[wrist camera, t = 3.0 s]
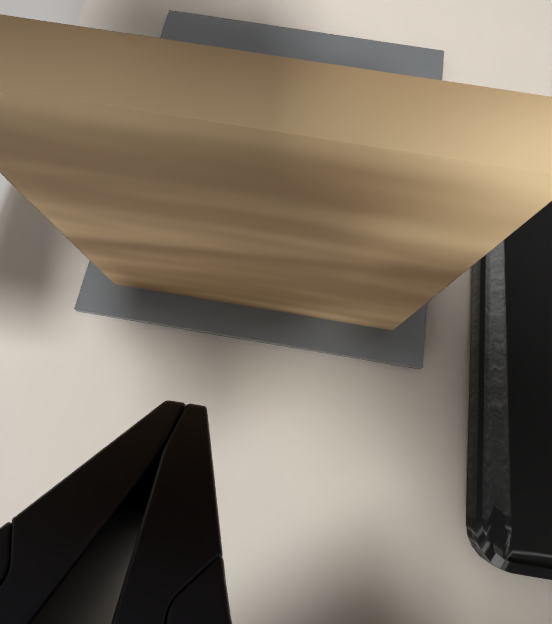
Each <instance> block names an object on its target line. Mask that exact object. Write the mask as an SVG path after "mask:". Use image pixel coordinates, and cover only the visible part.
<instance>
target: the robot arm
mask: <svg viewBox="0 0 552 624" xmlns="http://www.w3.org/2000/svg"><path fill="white" fill-rule="evenodd" d="M222 555H223V553H222V544H221V535H220V525H219V516H218V507H217V498H216V488H215V479H214V470H213V460H212V451H211V442H210V432H209V423H208V414H207V408H206V407H205V406H201V405H194V404H188V405H185V404H184V403H182V402H175V401H165V402H163V403H162V404H161V405H159V406H158V407H157V408H155V409H154V410H153V411H151V412H150V413H149V414H148V415H146V416H145V417H144V418H142V419H141V420H140V421H138V422H137V423H136V424H135V425H133V426H132V427H131V428H129V429H128V430H127V431H126V432H124V433H123V434H122V435H120V436H119V437H118V438H116V439H115V440H114V441H113V442H111V443H110V444H109V445H107V446H106V447H105V448H103V449H102V450H101V451H100V452H98V453H97V454H96V455H94V456H93V457H92V458H91V459H89V460H88V461H87V462H85V463H84V464H83V465H81V466H80V467H79V468H78V469H76V470H75V471H74V472H72V473H71V474H70V475H69V476H67V477H66V478H65V479H63V480H62V481H61V482H59V483H58V484H57V485H56V486H54V487H53V488H52V489H50V490H49V491H48V492H46V493H45V494H44V495H43V496H41V497H40V498H39V499H37V500H36V501H35V502H34V503H32V504H31V505H30V506H28V507H27V508H26V509H24V510H23V511H22V512H21V513H19V514H18V515H17V516H15V517H14V518H13V519H12V524H11V523H10V522H8V523H6V524H5V525H3V526H2V527H1V528H0V624H232V621H231V615H230V608H229V601H228V594H227V587H226V579H225V570H224V561H223V558H222Z"/></svg>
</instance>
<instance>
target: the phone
mask: <svg viewBox="0 0 552 624" xmlns="http://www.w3.org/2000/svg"><path fill="white" fill-rule="evenodd" d="M466 527H467V535H468V537H469V540H470V542H471V545H472V547H473V548H474V549H475V550H476V552H477V553H478V554H479V556H481V557H482V558H483V559H485V560H486V561H487V562H489V563H491V564H492V565H494V566H496V567H497V568H499V569H501V570H504V571H507V572H510V573H514V574H520V575H526V576H531V577H537V578H543V579H549V580H552V201H551V202H550V203H548V204H547V205H546V206H545V207H543V208H542V209H541V210H540V211H539V212H537V213H536V214H535V215H534V216H532V217H531V218H530V219H529V220H527V221H526V222H525V223H524V224H523V225H521V226H520V227H519V228H518V229H516V230H515V231H514V232H513V233H512V234H510V235H509V236H508V237H507V238H505V239H504V240H503V241H502V242H500V243H499V244H498V245H497V246H496V247H494V248H493V249H492V250H491V251H489V252H488V253H487V254H486V255H485V256H483V257H482V258H481V259H480V260H478V261H477V262H476V263H475V264H473V265H472V298H471V339H470V381H469V423H468V464H467V506H466Z"/></svg>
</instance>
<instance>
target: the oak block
mask: <svg viewBox="0 0 552 624" xmlns="http://www.w3.org/2000/svg"><path fill="white" fill-rule="evenodd" d="M0 173H1V174H2V175H3V176H4V177H5V178H6V179H7V180H8V181H9V182H10V183H11V184H12V185H13V186H14V187H15V188H16V189H17V190H18V191H19V192H21V193H22V194H23V195H24V196H25V197H26V198H27V199H28V200H29V201H30V202H31V203H32V204H33V205H34V206H35V207H36V208H37V209H38V210H39V211H40V212H41V213H42V214H43V215H44V216H45V217H46V218H47V219H48V220H49V221H50V222H51V223H52V224H53V225H54V226H55V227H56V228H57V229H59V230H60V231H61V232H62V233H63V234H64V235H65V236H66V237H67V238H68V239H69V240H70V241H71V242H72V243H73V244H74V245H75V246H76V247H77V248H78V249H79V250H80V251H81V252H82V253H83V254H84V255H85V256H86V257H87V258H88V259H89V260H90V261H91V262H92V263H93V264H94V265H96V266H97V267H98V268H99V269H100V270H101V271H102V272H103V273H104V274H105V275H106V276H107V277H108V278H109V279H110V280H111V281H112V282H113V283H114V284H116V285H122V286H128V287H134V288H140V289H146V290H152V291H158V292H164V293H170V294H176V295H182V296H188V297H194V298H200V299H206V300H212V301H218V302H224V303H230V304H236V305H242V306H248V307H254V308H260V309H266V310H272V311H278V312H284V313H290V314H296V315H303V316H309V317H315V318H321V319H327V320H333V321H339V322H345V323H351V324H357V325H363V326H369V327H375V328H381V329H387V330H394V329H395V328H396V327H397V326H399V325H400V324H401V323H402V322H404V321H405V320H406V319H407V318H408V317H410V316H411V315H412V314H413V313H415V312H416V311H417V310H418V309H420V308H421V307H422V306H423V305H424V304H426V303H427V302H428V301H429V300H431V299H432V298H433V297H434V296H435V295H437V294H438V293H439V292H440V291H442V290H443V289H444V288H445V287H447V286H448V285H449V284H450V283H451V282H453V281H454V280H455V279H456V278H458V277H459V276H460V275H461V274H462V273H464V272H465V271H466V270H467V269H469V268H470V267H471V266H472V265H473V264H475V263H476V262H477V261H478V260H480V259H481V258H482V257H483V256H485V255H486V254H487V253H488V252H489V251H491V250H492V249H493V248H494V247H496V246H497V245H498V244H499V243H500V242H502V241H503V240H504V239H505V238H507V237H508V236H509V235H510V234H512V233H513V232H514V231H515V230H516V229H518V228H519V227H520V226H521V225H523V224H524V223H525V222H526V221H527V220H529V219H530V218H531V217H532V216H534V215H535V214H536V213H537V212H539V211H540V210H541V209H542V208H543V207H545V206H546V205H547V204H548V203H550V202H551V201H552V97H549V96H542V95H535V94H529V93H522V92H515V91H508V90H502V89H495V88H488V87H482V86H475V85H468V84H462V83H455V82H448V81H442V80H435V79H428V78H422V77H415V76H408V75H401V74H395V73H388V72H381V71H375V70H368V69H361V68H355V67H348V66H341V65H335V64H328V63H321V62H315V61H308V60H301V59H294V58H288V57H281V56H274V55H268V54H261V53H254V52H248V51H241V50H234V49H228V48H221V47H214V46H208V45H201V44H194V43H187V42H181V41H174V40H167V39H161V38H154V37H147V36H141V35H134V34H127V33H121V32H114V31H107V30H100V29H94V28H87V27H80V26H74V25H66V24H60V23H53V22H47V21H40V20H34V19H26V18H20V17H14V16H7V15H0Z"/></svg>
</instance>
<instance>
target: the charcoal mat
mask: <svg viewBox="0 0 552 624" xmlns="http://www.w3.org/2000/svg"><path fill="white" fill-rule="evenodd" d="M161 39H167V40H174V41H181V42H187V43H194V44H201V45H208V46H214V47H221V48H228V49H234V50H241V51H248V52H254V53H261V54H268V55H274V56H281V57H288V58H294V59H301V60H308V61H315V62H321V63H328V64H335V65H341V66H348V67H355V68H361V69H368V70H375V71H381V72H388V73H395V74H401V75H408V76H415V77H422V78H428V79H435V80H442V73H443V58H444V51H442V50H435V49H428V48H421V47H414V46H408V45H401V44H394V43H387V42H381V41H374V40H367V39H360V38H353V37H347V36H340V35H333V34H326V33H320V32H313V31H306V30H299V29H292V28H286V27H279V26H272V25H265V24H259V23H252V22H245V21H238V20H231V19H225V18H218V17H211V16H204V15H198V14H191V13H184V12H177V11H170V10H169V13H168V16H167V19H166V22H165V25H164V28H163V31H162V35H161ZM74 309H75V310H76V311H79V312H85V313H91V314H96V315H102V316H108V317H114V318H120V319H126V320H132V321H138V322H144V323H150V324H156V325H162V326H168V327H174V328H180V329H186V330H191V331H197V332H203V333H209V334H215V335H221V336H227V337H233V338H239V339H245V340H251V341H257V342H263V343H269V344H275V345H280V346H286V347H292V348H298V349H304V350H310V351H316V352H322V353H328V354H334V355H340V356H346V357H352V358H358V359H364V360H370V361H375V362H381V363H387V364H393V365H399V366H405V367H411V368H417V369H421V368H423V353H424V338H425V323H426V309H427V303H426V304H424V305H423V306H422V307H421V308H420V309H418V310H417V311H416V312H415V313H413V314H412V315H411V316H410V317H408V318H407V319H406V320H405V321H404V322H402V323H401V324H400V325H399V326H397V327H396V328H395V329H394V330H387V329H381V328H375V327H369V326H363V325H357V324H351V323H345V322H339V321H333V320H327V319H321V318H315V317H309V316H303V315H296V314H290V313H284V312H278V311H272V310H266V309H260V308H254V307H248V306H242V305H236V304H230V303H224V302H218V301H212V300H206V299H200V298H194V297H188V296H182V295H176V294H170V293H164V292H158V291H152V290H146V289H140V288H134V287H128V286H122V285H116V284H114V283H113V282H112V281H111V280H110V279H109V278H108V277H107V276H106V275H105V274H104V273H103V272H102V271H101V270H100V269H99V268H98V267H97V266H96V265H94V264H93V263H92V262H91V261H89V264H88V267H87V270H86V274H85V277H84V280H83V283H82V286H81V289H80V293H79V296H78V299H77V302H76V305H75V308H74Z"/></svg>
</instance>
